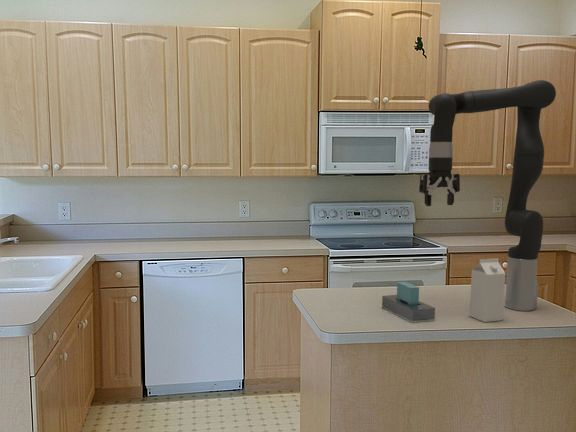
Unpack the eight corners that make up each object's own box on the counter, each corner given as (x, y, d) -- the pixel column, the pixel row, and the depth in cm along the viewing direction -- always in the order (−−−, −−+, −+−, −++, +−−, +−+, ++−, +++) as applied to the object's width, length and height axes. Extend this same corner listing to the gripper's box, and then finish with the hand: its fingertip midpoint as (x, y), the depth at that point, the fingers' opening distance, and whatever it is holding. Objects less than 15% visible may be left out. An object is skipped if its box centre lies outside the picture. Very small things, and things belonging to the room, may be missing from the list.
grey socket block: (382, 307, 190) (382, 295, 190) (402, 305, 193) (403, 294, 192) (412, 322, 173) (412, 310, 173) (434, 320, 176) (435, 307, 176)
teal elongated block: (396, 309, 186) (397, 282, 185) (404, 308, 187) (405, 281, 186) (409, 316, 179) (410, 288, 178) (417, 315, 180) (419, 287, 179)
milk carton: (469, 316, 182) (472, 257, 179) (487, 314, 184) (490, 256, 182) (484, 322, 175) (487, 261, 173) (502, 320, 177) (506, 260, 175)
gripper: (451, 155, 193) (449, 203, 194) (415, 156, 187) (414, 205, 189) (466, 156, 186) (464, 205, 188) (429, 156, 180) (427, 207, 182)
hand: (439, 205), depth 188 cm, fingers open, 8 cm apart
